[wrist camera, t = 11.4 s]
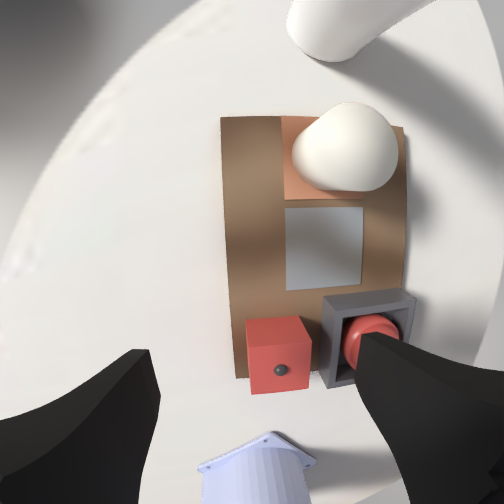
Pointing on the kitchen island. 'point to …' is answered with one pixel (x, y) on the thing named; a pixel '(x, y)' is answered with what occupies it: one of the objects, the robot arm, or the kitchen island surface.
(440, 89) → the kitchen island surface
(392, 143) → the ivory pawn
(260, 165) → the game board
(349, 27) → the drinking glass
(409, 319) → the pop dome base
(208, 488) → the robot arm
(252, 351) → the red block with knob
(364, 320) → the pop dome
